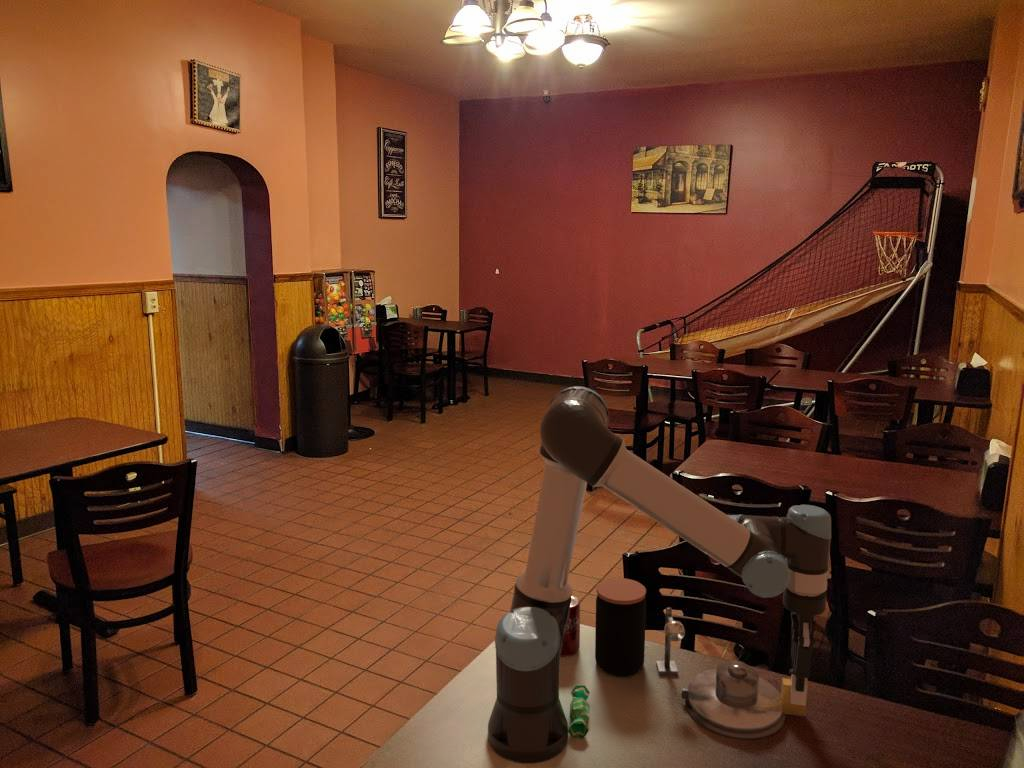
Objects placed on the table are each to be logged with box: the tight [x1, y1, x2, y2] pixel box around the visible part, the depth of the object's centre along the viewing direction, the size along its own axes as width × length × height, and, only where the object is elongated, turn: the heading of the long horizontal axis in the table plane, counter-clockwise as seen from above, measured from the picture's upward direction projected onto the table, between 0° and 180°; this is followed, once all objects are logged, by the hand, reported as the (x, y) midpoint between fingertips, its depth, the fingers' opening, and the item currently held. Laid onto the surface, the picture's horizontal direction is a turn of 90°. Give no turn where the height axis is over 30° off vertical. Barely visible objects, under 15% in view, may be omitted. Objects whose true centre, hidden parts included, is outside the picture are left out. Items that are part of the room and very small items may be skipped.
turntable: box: [681, 668, 809, 733], centre depth 147 cm, size 21×18×6 cm
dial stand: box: [655, 606, 686, 677], centre depth 156 cm, size 4×9×15 cm, turn 178°
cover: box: [715, 660, 760, 709], centre depth 145 cm, size 8×8×7 cm
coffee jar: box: [594, 577, 647, 678], centre depth 161 cm, size 11×11×18 cm
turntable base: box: [684, 699, 786, 741], centre depth 147 cm, size 19×19×1 cm
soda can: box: [560, 595, 581, 658], centre depth 167 cm, size 7×7×12 cm
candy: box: [568, 684, 590, 740], centre depth 144 cm, size 12×3×4 cm
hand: (797, 702), depth 142 cm, fingers closed
